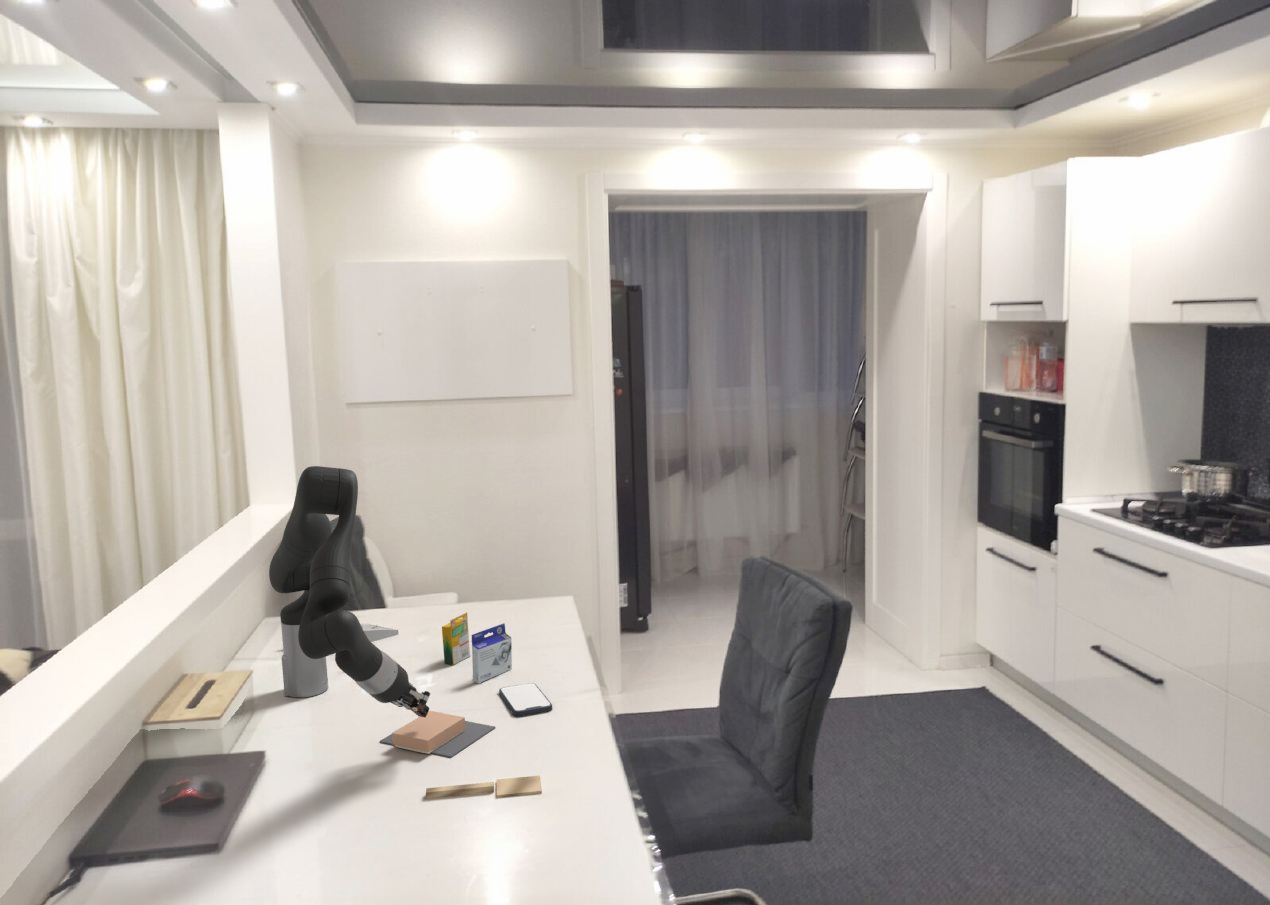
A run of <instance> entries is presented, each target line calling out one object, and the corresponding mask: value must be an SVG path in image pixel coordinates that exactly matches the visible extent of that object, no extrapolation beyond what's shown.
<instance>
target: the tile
mask: <svg viewBox="0 0 1270 905" xmlns="http://www.w3.org/2000/svg"><path fill="white" fill-rule="evenodd" d="M465 721H466V717H464V716H460V715H456V714H455V715H454V714H449V713H444V712H438V711H432V710H429V712H428V714H427V716H426V717H419V716H418V717H417V718H414V719H413V720H411V721H410V722H408V723H407V724H405V725H403V726H401V727H400V728H398V729H396V730H394V731H393V732H391V734H392V743H393V745H392V746H394V745H395V748H400V749H405V750H409V751H412V752H418V753H423V754H428V755H429V754H431V752H433V751H434V750H436V749H437V748H439V747H440V746H442V745H443V744H445V743H447V742H448V741H450V740H451V739H453V738H454V737H456V736H457V735H459V734H460V733H462V732H463V730H464V729H465Z"/></svg>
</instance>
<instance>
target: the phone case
mask: <svg viewBox="0 0 1270 905" xmlns="http://www.w3.org/2000/svg"><path fill="white" fill-rule="evenodd" d="M498 693H499V695H500V697H501V698H502V700H503V702H504V703H505V705H506V706H507V707H508V710H510V712H511V714H512V715H513V716H514V717H516V718H520V717H526V716H532V715H537V714H543V713H548V712H551V711H553V704H552V703H551V701H550V700H549V699H548V697H547V696H546V695H545V694H544V692H542V690H541V689H540V688H539V687H538V685H537V684H536V683H534V682H531V683H523V684H518V685H517V684H516V685H510V686H506V687H504V686H503V687H500V688H499V690H498Z"/></svg>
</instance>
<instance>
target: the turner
mask: <svg viewBox="0 0 1270 905" xmlns="http://www.w3.org/2000/svg"><path fill="white" fill-rule="evenodd" d="M494 784H495V783H494V781H490V782H489V781H488V782H478V783H477V782H476V783H467V784H466V783H465V784H456V785H448V786H439V787H438V786H436V787H427V788H426V790H425V799H427V800H428V799H438V798H447V797H448V798H449V797H456V796H458V797H460V796H469V795H479V794H487V793H488V794H489V793H495V785H494ZM542 788H543V787H542V781H541V775H531V776H530V775H529V776H520V777H510V778H500V779H496V798H497V799H499V798H507V797H517V796H528V795H537V794H542V793H543V790H542Z"/></svg>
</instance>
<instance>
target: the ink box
mask: <svg viewBox="0 0 1270 905" xmlns="http://www.w3.org/2000/svg"><path fill="white" fill-rule="evenodd" d="M488 634H491V635H488ZM486 635H488V636H486ZM485 636H486V637H485ZM512 644H513V643H512V637H511V636H510V635H509V634H508V633H507V632H506V624H505V622H503V623H501V624H498V625H495V626H492V627H490V628H486V629H484V630H482V631H481V630H480V631H478V632H476V633H473V634H471V652H472V653H471V658H472V660H471V661H472V681H473V683H476V684H480V683H482V682H485V681H487V680H490V679H492V678H494V677H497V676H499V675H502V674H505V673H507V672H509V671H511V670H512V668H513V666H512V665H513V664H512V662H513V660H512V659H513V658H512V657H513V656H512V655H513V654H512V653H513V652H512V649H513V648H512Z"/></svg>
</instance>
